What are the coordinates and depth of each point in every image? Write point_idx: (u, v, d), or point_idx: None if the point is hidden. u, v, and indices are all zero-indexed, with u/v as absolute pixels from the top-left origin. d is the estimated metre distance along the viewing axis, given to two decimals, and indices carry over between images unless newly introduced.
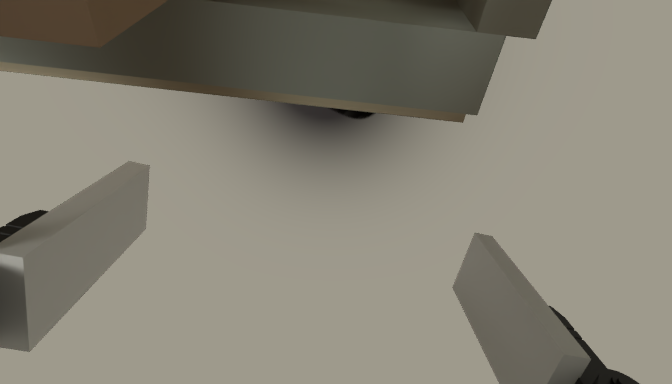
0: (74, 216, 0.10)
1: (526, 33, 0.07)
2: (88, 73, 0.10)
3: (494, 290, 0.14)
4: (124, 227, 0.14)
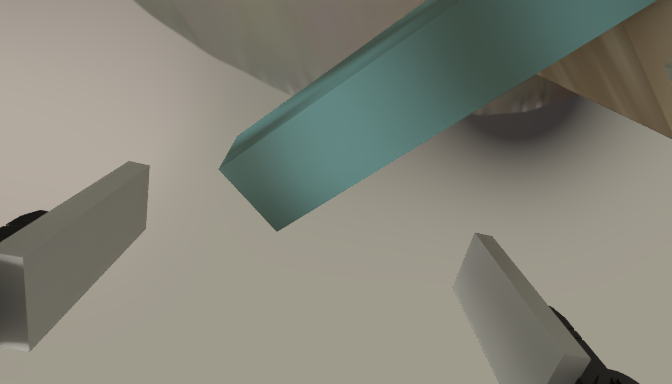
0: (74, 216, 0.10)
1: None
2: None
3: (494, 290, 0.14)
4: (124, 227, 0.14)
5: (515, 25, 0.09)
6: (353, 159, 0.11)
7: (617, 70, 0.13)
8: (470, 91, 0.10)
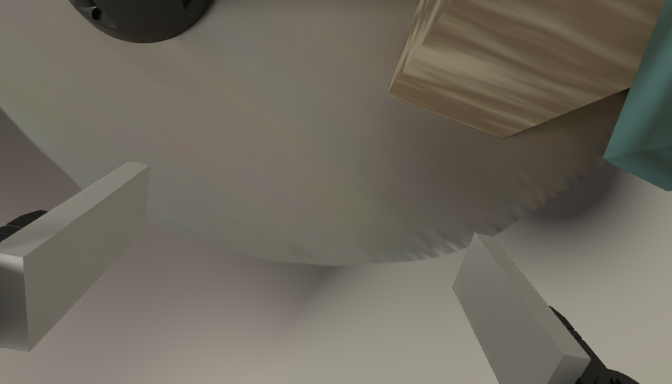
0: (74, 216, 0.10)
1: None
2: None
3: (494, 290, 0.14)
4: (124, 227, 0.14)
5: None
6: None
7: None
8: None
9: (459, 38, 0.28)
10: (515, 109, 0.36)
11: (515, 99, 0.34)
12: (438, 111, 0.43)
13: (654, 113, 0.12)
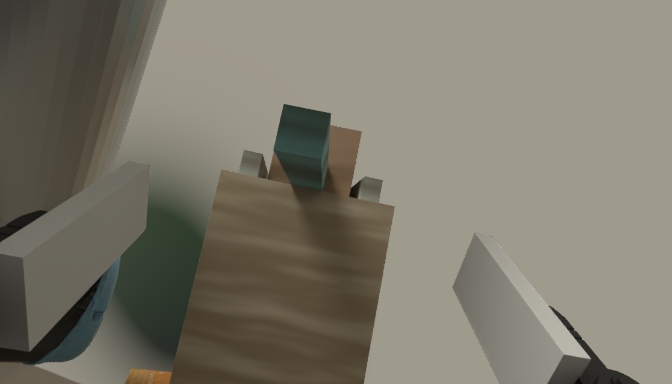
0: (74, 216, 0.10)
1: None
2: None
3: (493, 290, 0.14)
4: (124, 227, 0.14)
5: None
6: None
7: (360, 218, 0.31)
8: None
9: (202, 368, 0.29)
10: None
11: None
12: None
13: None
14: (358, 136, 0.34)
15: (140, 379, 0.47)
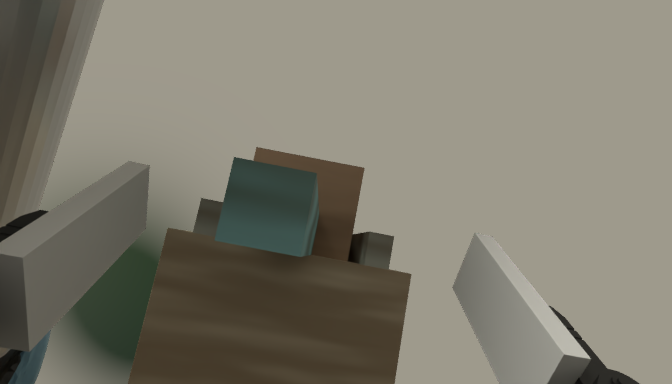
0: (74, 216, 0.10)
1: None
2: None
3: (494, 290, 0.14)
4: (124, 227, 0.14)
5: None
6: None
7: (364, 292, 0.22)
8: None
9: None
10: None
11: None
12: None
13: None
14: (360, 174, 0.25)
15: None
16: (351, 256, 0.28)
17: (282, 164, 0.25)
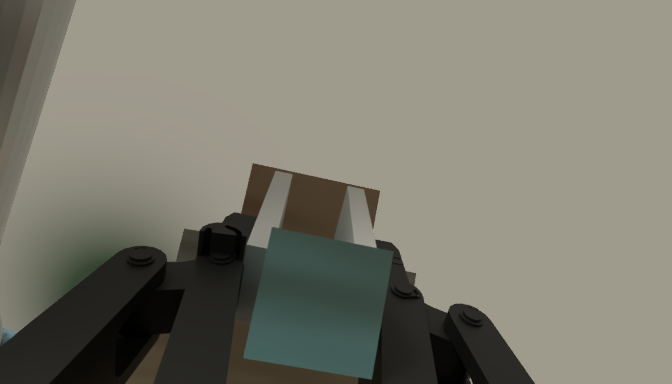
0: (278, 217, 0.13)
1: None
2: None
3: (345, 230, 0.15)
4: (281, 226, 0.16)
5: None
6: None
7: None
8: None
9: None
10: None
11: None
12: None
13: None
14: (375, 198, 0.21)
15: None
16: None
17: None
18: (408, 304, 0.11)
